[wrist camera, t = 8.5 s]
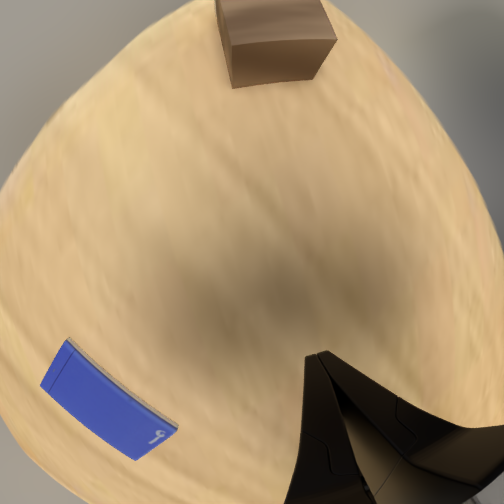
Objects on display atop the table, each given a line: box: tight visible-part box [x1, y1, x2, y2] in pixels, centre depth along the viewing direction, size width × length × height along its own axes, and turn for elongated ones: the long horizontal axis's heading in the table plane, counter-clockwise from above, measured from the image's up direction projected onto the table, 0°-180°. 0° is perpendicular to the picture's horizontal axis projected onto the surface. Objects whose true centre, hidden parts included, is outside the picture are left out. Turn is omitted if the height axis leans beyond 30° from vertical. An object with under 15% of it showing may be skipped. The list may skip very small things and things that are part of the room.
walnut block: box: [214, 0, 338, 89], centre depth 14 cm, size 6×6×8 cm
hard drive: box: [40, 337, 179, 461], centre depth 20 cm, size 2×8×12 cm
